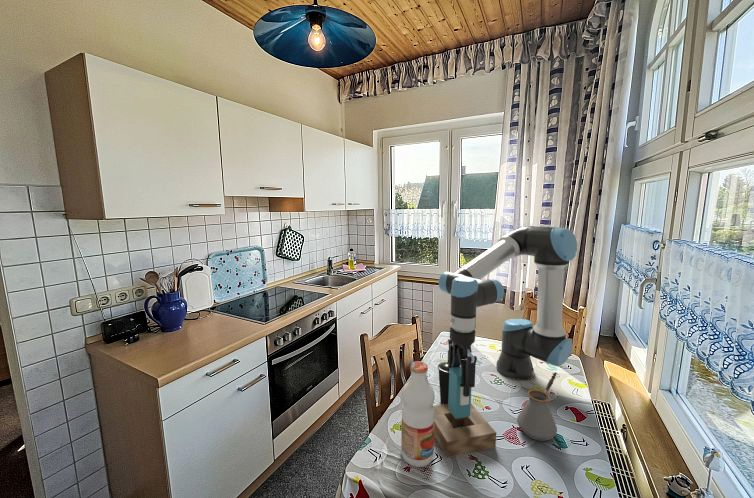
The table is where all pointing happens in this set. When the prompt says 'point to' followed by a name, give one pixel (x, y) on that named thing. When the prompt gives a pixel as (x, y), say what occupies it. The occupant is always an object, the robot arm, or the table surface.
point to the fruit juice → (418, 418)
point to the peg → (457, 395)
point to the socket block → (462, 432)
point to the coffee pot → (538, 415)
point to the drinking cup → (444, 381)
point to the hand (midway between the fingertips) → (459, 398)
